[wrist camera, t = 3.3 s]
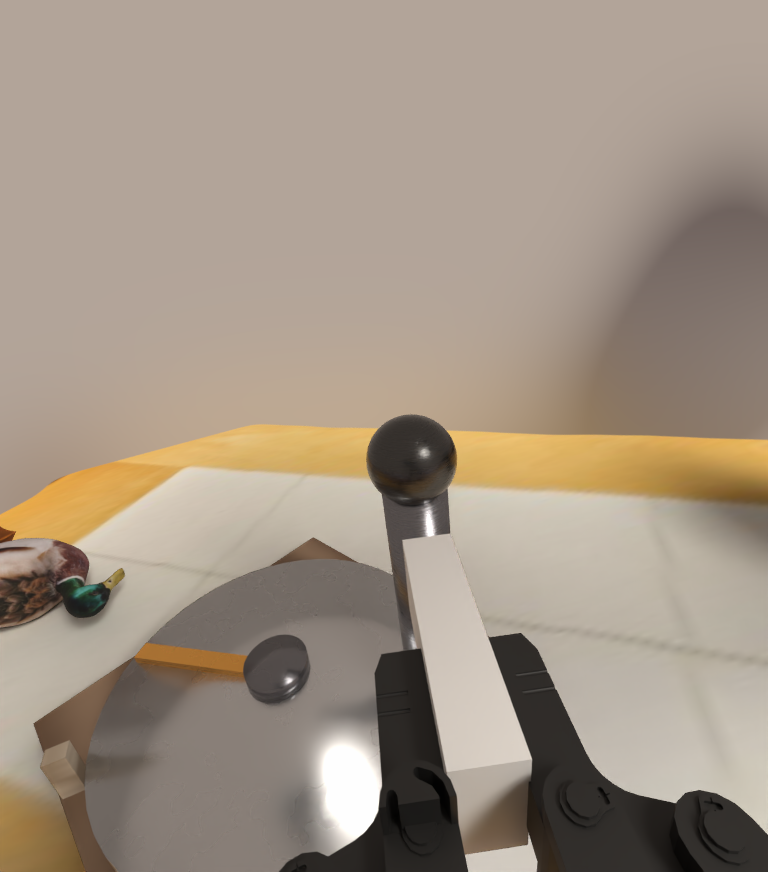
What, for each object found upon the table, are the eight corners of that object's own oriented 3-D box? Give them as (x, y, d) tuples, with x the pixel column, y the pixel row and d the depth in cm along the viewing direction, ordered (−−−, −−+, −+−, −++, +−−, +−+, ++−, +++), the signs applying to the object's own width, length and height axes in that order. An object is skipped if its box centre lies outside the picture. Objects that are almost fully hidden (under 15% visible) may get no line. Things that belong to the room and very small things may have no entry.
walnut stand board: (315, 549, 46) (307, 512, 44) (541, 682, 30) (543, 633, 28) (43, 737, 31) (13, 693, 29) (212, 1204, 15) (170, 1172, 13)
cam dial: (-5, 865, 23) (-282, 561, 15) (226, 567, 42) (159, 365, 34) (454, 1004, 17) (408, 631, 9) (477, 585, 36) (469, 349, 28)
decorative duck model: (128, 548, 39) (-110, 685, 27) (149, 612, 42) (-57, 758, 31) (45, 497, 46) (-170, 589, 35) (68, 555, 49) (-122, 656, 38)
